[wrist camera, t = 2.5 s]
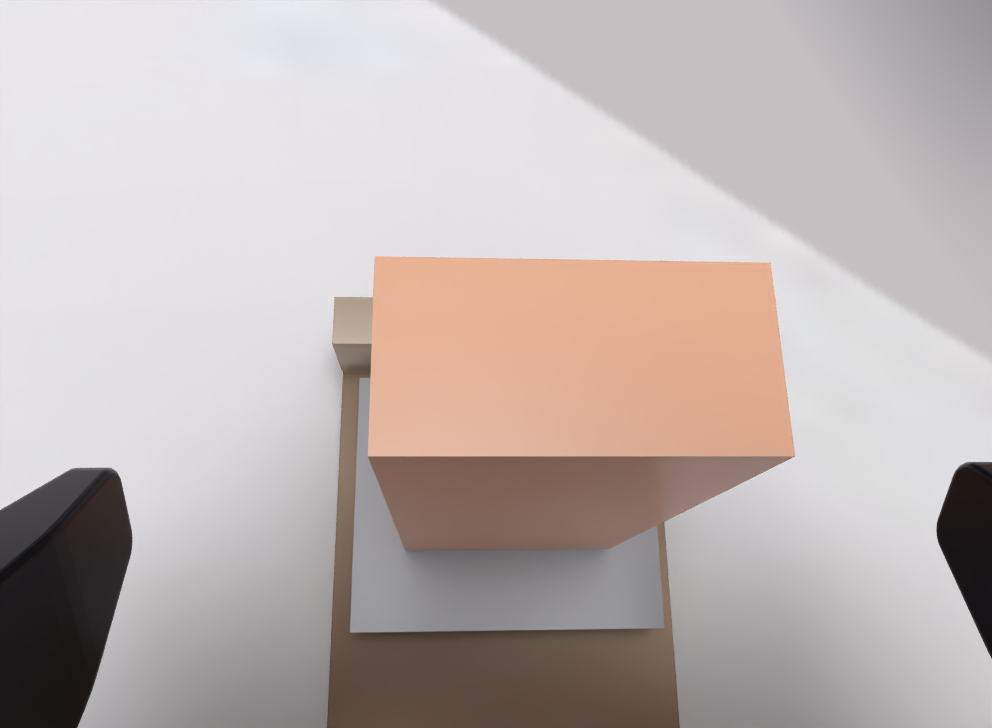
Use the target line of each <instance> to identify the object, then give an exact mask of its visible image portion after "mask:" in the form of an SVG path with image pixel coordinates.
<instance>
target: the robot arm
mask: <svg viewBox="0 0 992 728" xmlns="http://www.w3.org/2000/svg"><path fill="white" fill-rule="evenodd" d="M937 538H938V542H939V545H940V548H941V550H942V552H943V554H944V556H945V559H946V561H947V563H948V565H949V567H950V570H951V572H952V574H953V576H954V578H955V580H956V583H957V585H958V587H959V589H960V591H961V594H962V596H963V598H964V600H965V602H966V604H967V607H968V609H969V611H970V613H971V615H972V618H973V620H974V622H975V624H976V626H977V628H978V631H979V633H980V635H981V637H982V639H983V642H984V644H985V646H986V648H987V650H988V652H989V654H990V656H991V658H992V462H967V463H964V464H962V465H961V466H959V467H958V469H957V470H956V471H955V473H954V475H953V478H952V481H951V484H950V487H949V489H948V492H947V495H946V498H945V501H944V503H943V506H942V509H941V512H940V515H939V518H938V521H937ZM131 550H132V530H131V525H130V520H129V515H128V511H127V506H126V501H125V496H124V492H123V487H122V482H121V479H120V477H119V475H118V473H117V472H116V471H115V470H113V469H112V468H74V469H71V470H69V471H67V472H65V473H64V474H62V475H60V476H58V477H57V478H55V479H53V480H51V481H50V482H48V483H46V484H45V485H43V486H41V487H39V488H38V489H36V490H34V491H32V492H31V493H29V494H27V495H26V496H24V497H22V498H20V499H19V500H17V501H15V502H13V503H12V504H10V505H8V506H7V507H5V508H3V509H1V510H0V728H77V727H78V724H79V722H80V720H81V717H82V715H83V712H84V710H85V707H86V704H87V702H88V699H89V697H90V694H91V691H92V689H93V686H94V683H95V679H96V676H97V673H98V670H99V666H100V663H101V659H102V656H103V652H104V649H105V645H106V641H107V638H108V634H109V631H110V627H111V624H112V620H113V616H114V613H115V609H116V606H117V602H118V599H119V595H120V591H121V588H122V584H123V581H124V577H125V574H126V570H127V566H128V563H129V559H130V555H131Z"/></svg>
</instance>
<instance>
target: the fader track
mask: <svg viewBox="0 0 992 728" xmlns="http://www.w3.org/2000/svg"><path fill="white" fill-rule="evenodd" d="M372 319H373V298H365V297H335V300H334V320H333V340H332V344H333V347H334V349H335V352H336V355H337V358H338V360H339V363H340V366H341V369H342V371H343V389H342V411H341V433H340V456H339V478H338V500H337V522H336V544H335V566H334V589H333V611H332V633H331V655H330V677H329V700H328V722H327V728H680V726H679V713H678V700H677V687H676V673H675V660H674V647H673V634H672V620H671V607H670V594H669V581H668V567H667V554H666V541H665V528H664V522H662V523H660V524H658V525H657V531H658V544H659V558H660V572H661V586H662V599H663V613H664V627H665V628H650V629H580V630H510V631H440V632H370V633H350V619H351V593H352V567H353V541H354V515H355V489H356V464H357V438H358V412H359V386H360V378H370V377H371V348H372Z"/></svg>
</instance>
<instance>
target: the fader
mask: <svg viewBox="0 0 992 728" xmlns="http://www.w3.org/2000/svg"><path fill="white" fill-rule="evenodd" d="M793 457H795V453H794V445H793V437H792V429H791V421H790V413H789V405H788V397H787V390H786V382H785V374H784V366H783V358H782V350H781V342H780V334H779V326H778V319H777V311H776V303H775V295H774V287H773V279H772V271H771V263H748V262H685V261H622V260H559V259H496V258H433V257H375V261H374V290H373V319H372V348H371V377H370V378H360V386H359V412H358V438H357V464H356V489H355V515H354V541H353V567H352V593H351V619H350V633H370V632H440V631H510V630H580V629H650V628H665V627H664V613H663V599H662V586H661V572H660V558H659V544H658V531H657V525H658V524H660V523H662V522H664V521H666V520H668V519H670V518H672V517H674V516H676V515H678V514H680V513H682V512H684V511H686V510H688V509H690V508H692V507H694V506H696V505H698V504H700V503H702V502H704V501H706V500H708V499H710V498H712V497H714V496H716V495H718V494H720V493H722V492H725V491H727V490H729V489H731V488H733V487H735V486H737V485H739V484H741V483H743V482H745V481H747V480H749V479H751V478H753V477H755V476H757V475H759V474H761V473H763V472H765V471H767V470H769V469H771V468H773V467H775V466H777V465H779V464H781V463H783V462H785V461H787V460H789V459H791V458H793Z"/></svg>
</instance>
